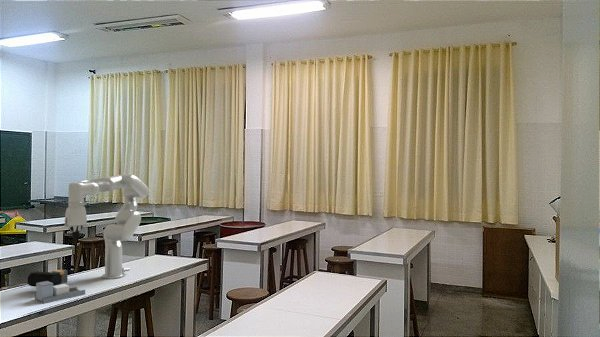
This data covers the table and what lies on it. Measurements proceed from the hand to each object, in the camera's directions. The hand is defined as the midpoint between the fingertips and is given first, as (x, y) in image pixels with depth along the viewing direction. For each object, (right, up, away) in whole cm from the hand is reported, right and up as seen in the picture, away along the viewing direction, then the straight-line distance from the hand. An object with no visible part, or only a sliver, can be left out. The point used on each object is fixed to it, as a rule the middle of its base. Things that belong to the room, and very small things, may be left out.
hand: (75, 238), depth 229 cm
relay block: (-14, -27, +10) cm, 32 cm away
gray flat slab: (+1, -27, -16) cm, 32 cm away
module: (+3, -24, -14) cm, 28 cm away
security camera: (-11, -27, -8) cm, 30 cm away
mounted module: (-3, -27, -22) cm, 35 cm away
